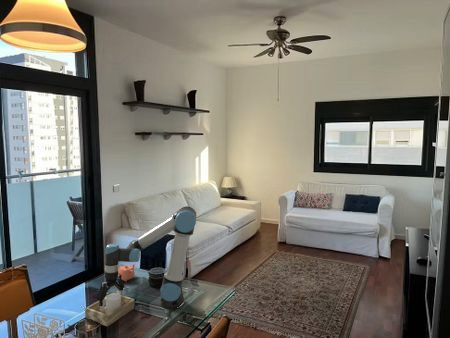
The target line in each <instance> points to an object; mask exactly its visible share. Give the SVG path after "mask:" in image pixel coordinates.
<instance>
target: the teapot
mask: <svg viewBox="0 0 450 338" xmlns="http://www.w3.org/2000/svg"><path fill="white" fill-rule="evenodd" d="M136 263H137V262H133V264H132V265H128V264H127V265H124V266H121V265H118V275H121V279H122V282H123V281H124V282H125V283H126V282H128V281H129V280H133V278H134V277H135V275H136V274H135V265H136ZM124 282H123V283H124Z"/></svg>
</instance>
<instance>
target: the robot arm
mask: <svg viewBox="0 0 450 338" xmlns="http://www.w3.org/2000/svg"><path fill="white" fill-rule="evenodd" d="M196 224H197V212H196V210H195V209H194V208H193V207H191V206H187V205H185V206H182V207H181V208H180V209H178V210H177V211H175V212H174V213H173V214H172V215H171V217H169V218H168V219H166V220H165V221H163V222H162V223H159V224H158V225H157V226H155V227H154V228H152V229H150V230H149V231H147V232H146V233H144V234H142V235H141V236H140V237H138V238H137V239H133V240H132V241H130V242H129V244H128V246H127V247H126V248H122V247H120V245H119V244H118V243H109V244H107V245H106V246H105V250H104V251H105V252H104V279H105V281H104V282H103V281H102V282H101V283H100V287H99V289H98V294H97V296H96V299H95V300H96V302H97V301H99V306H100V311H103V312H104V304H105V300H104V298H105V297H106V296H107V295H108V294H107V293H108V292H109V290H110V289H111V288H112V287H114V286H115V287H116V288H117V290H116V293H117V294H120V295H122V292H123V291H124V288H125V285H124V282H123V280H122V279H121V275H118V270H119V266H120V265H119V262H122V263H123V262H124V263H125V262H126V263H137V262H138V263H139V261H140V258H141V251H143V250H144V249H146V248H147V247H150V245H152V244H154V243H156V242H157V241H159V240H160V239H162V238H163V237H165V236H166V235H167V236H168V234H170V233H172V231H173V232H174V239H173V243H172V249H171V253H170V258H169V262H168V267H166V268H164V269H165V272H164V273H165V274H164V277H163V282H162V286H161V287H160V289H159V290H160V291H159V294H160V296H161V298H160V306H161V307H162V308H164V309H168V310H176V309H175V308H177V307H179V306H180V305H181V304H182V303H183V302H184V303H185V301H184V300H185V297H184V293H183V281H184V264H185V260H186V256H187V250H188V247H189V242H190V237H191V236H193V234H194V232H195V231H194V230H195V226H196ZM177 309H178V308H177Z"/></svg>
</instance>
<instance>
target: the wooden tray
mask: <svg viewBox="0 0 450 338" xmlns="http://www.w3.org/2000/svg"><path fill="white" fill-rule="evenodd" d="M104 300H105V299H104ZM135 302H136V301H135V299H134V298H132V297H129V296H125V295H122V294H121V305H120V308H118V309H116V310H115V311H113V312H112V313H110V314H109V315H107V314H106V312H105V311H106V310H105V309H104V312H103V311H100V306H99V301H97V300H96V302H94V303H92V304H90V305H89V306H86V307H85V308H84V319H86V320H88V319H92V320H94V321H96V322H98V323H97V324H99V323H100V324H99V325H102V326H104V327H109V326H112V324H114V323H115V322H117V321H118V320H120V319H121V318H123V317H125V316H126V315H127V314H129V313H130V312H132V311H133V310H134V309H135V304H136V303H135ZM104 307H106V300H105V304H104ZM94 321H93V322H94ZM96 322H95V323H96Z"/></svg>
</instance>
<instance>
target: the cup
mask: <svg viewBox="0 0 450 338" xmlns="http://www.w3.org/2000/svg"><path fill="white" fill-rule="evenodd" d="M121 295H122V294H121ZM121 295H120V294H117V292H116V293H115V292H112V293H109V294H106V296H105V298H104V299H105V300H106V307H104V309H105V310H106V311H105V312H106V314H107V315H109V314H110V313H112V312H113V311H115V310H116V309H118V308H120V305H121Z"/></svg>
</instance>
